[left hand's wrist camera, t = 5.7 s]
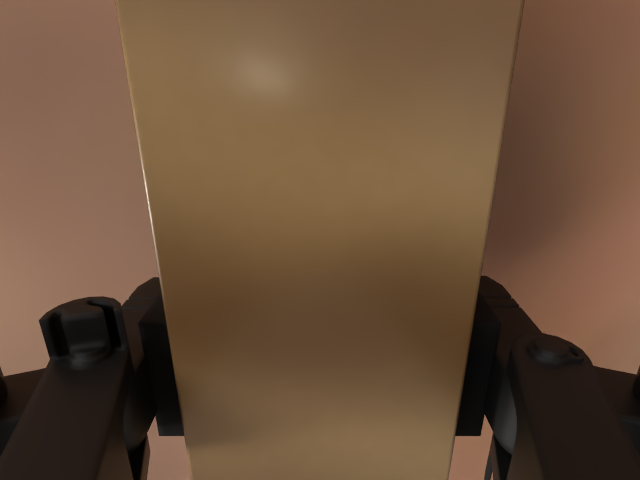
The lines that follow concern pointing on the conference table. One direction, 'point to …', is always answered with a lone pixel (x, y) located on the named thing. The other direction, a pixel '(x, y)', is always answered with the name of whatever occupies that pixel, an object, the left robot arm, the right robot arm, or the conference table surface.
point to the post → (319, 221)
